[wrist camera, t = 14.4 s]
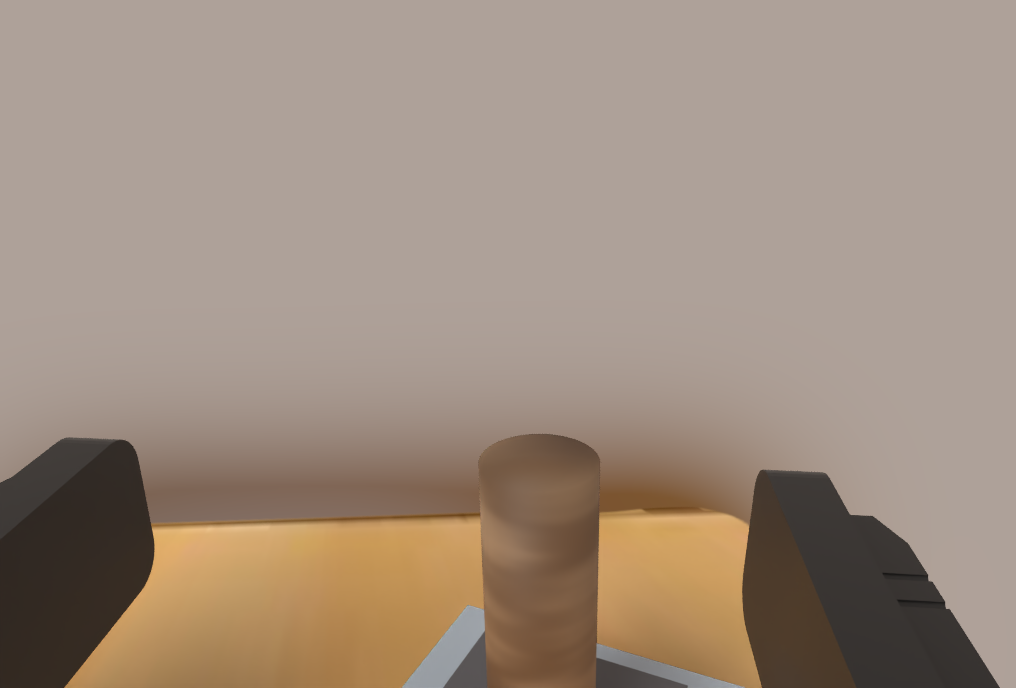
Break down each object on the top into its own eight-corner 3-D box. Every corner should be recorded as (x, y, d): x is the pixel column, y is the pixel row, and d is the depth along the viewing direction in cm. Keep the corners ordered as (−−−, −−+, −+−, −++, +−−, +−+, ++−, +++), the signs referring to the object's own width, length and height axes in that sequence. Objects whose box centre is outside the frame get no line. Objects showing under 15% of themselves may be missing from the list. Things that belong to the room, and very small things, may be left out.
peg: (473, 823, 30) (456, 476, 25) (517, 745, 34) (510, 426, 29) (571, 865, 29) (574, 502, 23) (607, 779, 32) (616, 446, 27)
